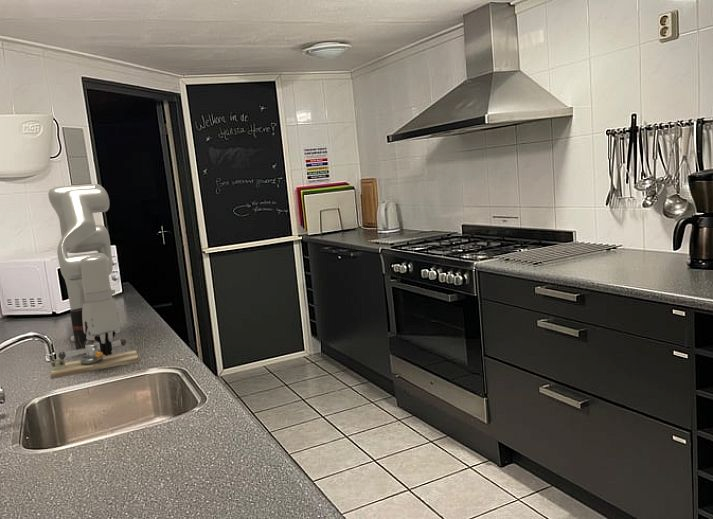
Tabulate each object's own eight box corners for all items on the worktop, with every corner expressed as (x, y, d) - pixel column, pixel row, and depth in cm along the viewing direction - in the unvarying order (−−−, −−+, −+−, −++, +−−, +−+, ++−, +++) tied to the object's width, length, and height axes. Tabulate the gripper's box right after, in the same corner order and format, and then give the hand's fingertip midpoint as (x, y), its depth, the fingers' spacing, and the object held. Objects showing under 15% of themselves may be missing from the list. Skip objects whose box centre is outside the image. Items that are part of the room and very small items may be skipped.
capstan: (121, 346, 203) (118, 331, 203) (136, 359, 187) (133, 342, 186) (55, 361, 192) (53, 345, 192) (65, 376, 176) (62, 358, 175)
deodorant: (88, 354, 203) (81, 311, 201) (72, 354, 205) (66, 312, 202) (98, 349, 209) (92, 307, 207) (83, 349, 210) (77, 307, 208)
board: (53, 368, 190) (51, 356, 189) (136, 353, 200) (134, 341, 199) (51, 378, 180) (49, 365, 179) (138, 361, 190) (137, 349, 189)
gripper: (114, 290, 191) (122, 346, 193) (68, 301, 179) (77, 360, 182) (127, 292, 186) (135, 349, 189) (80, 302, 174) (89, 363, 177)
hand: (107, 354), depth 185 cm, fingers closed
